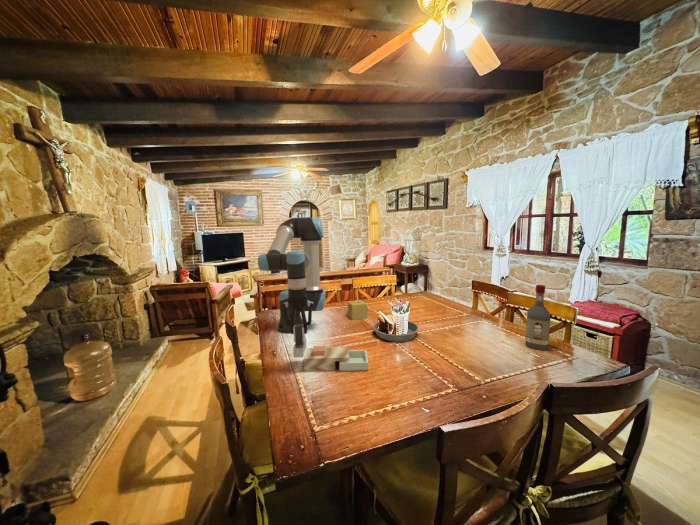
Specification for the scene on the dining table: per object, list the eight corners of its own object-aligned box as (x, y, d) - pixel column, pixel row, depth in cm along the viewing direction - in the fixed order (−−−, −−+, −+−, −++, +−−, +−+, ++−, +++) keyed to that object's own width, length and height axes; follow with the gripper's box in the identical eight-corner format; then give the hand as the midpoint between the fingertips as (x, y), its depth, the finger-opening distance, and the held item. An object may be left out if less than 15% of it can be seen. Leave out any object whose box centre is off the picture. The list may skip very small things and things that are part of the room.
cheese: (347, 315, 193) (347, 301, 191) (362, 313, 196) (362, 299, 194) (352, 320, 183) (351, 305, 181) (368, 318, 186) (367, 303, 185)
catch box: (339, 371, 121) (339, 363, 120) (340, 357, 133) (340, 350, 132) (368, 370, 121) (368, 362, 121) (366, 357, 133) (366, 350, 132)
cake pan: (403, 323, 176) (403, 316, 175) (427, 338, 153) (428, 330, 152) (366, 330, 167) (366, 322, 166) (386, 346, 144) (386, 338, 144)
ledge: (304, 371, 122) (303, 358, 121) (307, 359, 132) (306, 348, 131) (349, 369, 122) (348, 357, 121) (349, 358, 132) (348, 347, 131)
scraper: (293, 357, 121) (292, 330, 119) (297, 347, 131) (296, 321, 129) (303, 357, 121) (301, 329, 119) (306, 346, 131) (305, 321, 129)
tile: (312, 355, 124) (312, 351, 123) (313, 350, 129) (313, 346, 128) (324, 355, 124) (324, 351, 123) (325, 350, 129) (325, 346, 128)
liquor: (525, 340, 147) (529, 282, 142) (547, 344, 142) (551, 284, 138) (525, 347, 139) (529, 286, 135) (548, 351, 134) (553, 288, 130)
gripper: (275, 290, 118) (279, 344, 121) (315, 289, 118) (317, 344, 122) (280, 286, 126) (283, 337, 129) (317, 285, 126) (319, 336, 129)
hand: (299, 340), depth 125 cm, fingers closed on scraper, 3 cm apart
